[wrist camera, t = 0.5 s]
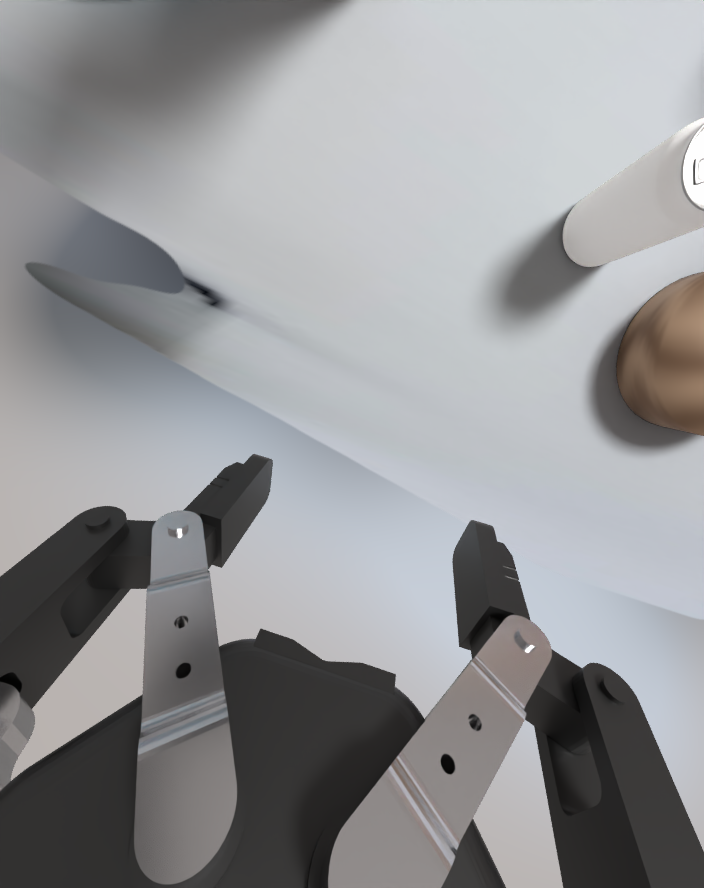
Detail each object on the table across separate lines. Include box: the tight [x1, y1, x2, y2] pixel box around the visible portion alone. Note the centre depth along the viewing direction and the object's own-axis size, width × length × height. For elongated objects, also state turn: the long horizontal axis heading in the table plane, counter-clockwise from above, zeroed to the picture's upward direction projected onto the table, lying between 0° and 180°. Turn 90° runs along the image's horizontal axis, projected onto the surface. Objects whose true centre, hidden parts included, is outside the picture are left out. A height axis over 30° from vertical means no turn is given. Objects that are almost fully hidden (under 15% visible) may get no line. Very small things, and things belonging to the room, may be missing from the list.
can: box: [563, 118, 704, 267], centre depth 26 cm, size 6×6×12 cm
